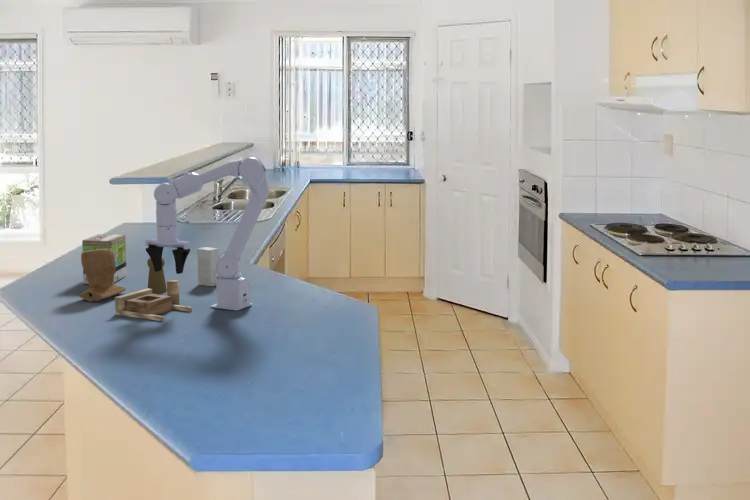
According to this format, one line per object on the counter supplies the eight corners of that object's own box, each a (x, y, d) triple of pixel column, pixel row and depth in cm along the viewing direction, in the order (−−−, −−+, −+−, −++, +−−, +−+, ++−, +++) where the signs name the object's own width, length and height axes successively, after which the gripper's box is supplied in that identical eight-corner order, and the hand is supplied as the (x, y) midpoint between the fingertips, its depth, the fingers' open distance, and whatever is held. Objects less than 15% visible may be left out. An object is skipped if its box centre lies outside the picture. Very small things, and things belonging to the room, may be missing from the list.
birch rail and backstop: (192, 311, 236) (191, 293, 235) (161, 321, 224) (161, 303, 223) (147, 305, 243) (146, 288, 242) (115, 314, 231) (114, 297, 230)
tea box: (113, 285, 270) (111, 240, 268) (82, 284, 270) (80, 240, 268) (127, 276, 285) (125, 233, 283) (98, 275, 285) (96, 233, 283)
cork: (159, 288, 265) (157, 254, 263) (171, 291, 261) (169, 256, 259) (143, 291, 260) (141, 257, 258) (154, 294, 257) (153, 259, 255)
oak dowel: (181, 303, 244) (181, 280, 243) (174, 306, 241) (173, 282, 240) (172, 302, 246) (171, 279, 245) (165, 305, 243) (164, 281, 242)
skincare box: (220, 284, 272) (219, 248, 270) (211, 286, 268) (210, 250, 266) (206, 282, 275) (205, 246, 273) (197, 284, 271) (196, 248, 269)
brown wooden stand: (97, 291, 261) (95, 244, 259) (131, 293, 258) (129, 245, 256) (68, 301, 247) (65, 251, 244) (103, 304, 244) (100, 253, 241)
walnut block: (172, 309, 237) (171, 296, 236) (148, 317, 228) (147, 303, 227) (150, 306, 240) (149, 293, 240) (125, 314, 232) (125, 300, 231)
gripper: (196, 225, 237) (198, 271, 239) (155, 222, 243) (157, 267, 245) (181, 228, 230) (182, 276, 233) (139, 225, 236) (141, 271, 238)
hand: (168, 272), depth 238 cm, fingers open, 7 cm apart
